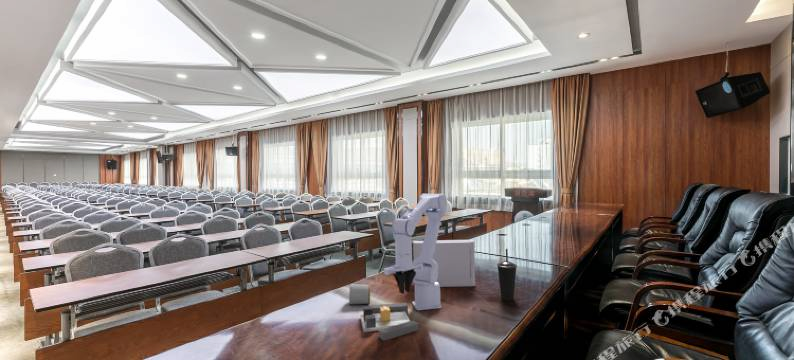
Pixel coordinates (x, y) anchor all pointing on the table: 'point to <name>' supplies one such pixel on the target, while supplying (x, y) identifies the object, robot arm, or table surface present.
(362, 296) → the gray rounded block
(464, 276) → the game console
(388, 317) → the orange l block
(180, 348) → the table surface
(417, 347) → the table surface
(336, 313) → the table surface
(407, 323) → the duct
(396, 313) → the panel
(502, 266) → the drinking cup
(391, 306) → the duct
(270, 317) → the table surface
